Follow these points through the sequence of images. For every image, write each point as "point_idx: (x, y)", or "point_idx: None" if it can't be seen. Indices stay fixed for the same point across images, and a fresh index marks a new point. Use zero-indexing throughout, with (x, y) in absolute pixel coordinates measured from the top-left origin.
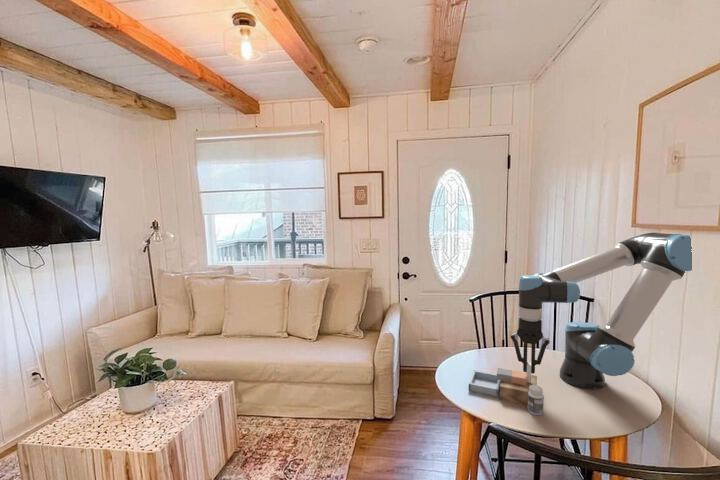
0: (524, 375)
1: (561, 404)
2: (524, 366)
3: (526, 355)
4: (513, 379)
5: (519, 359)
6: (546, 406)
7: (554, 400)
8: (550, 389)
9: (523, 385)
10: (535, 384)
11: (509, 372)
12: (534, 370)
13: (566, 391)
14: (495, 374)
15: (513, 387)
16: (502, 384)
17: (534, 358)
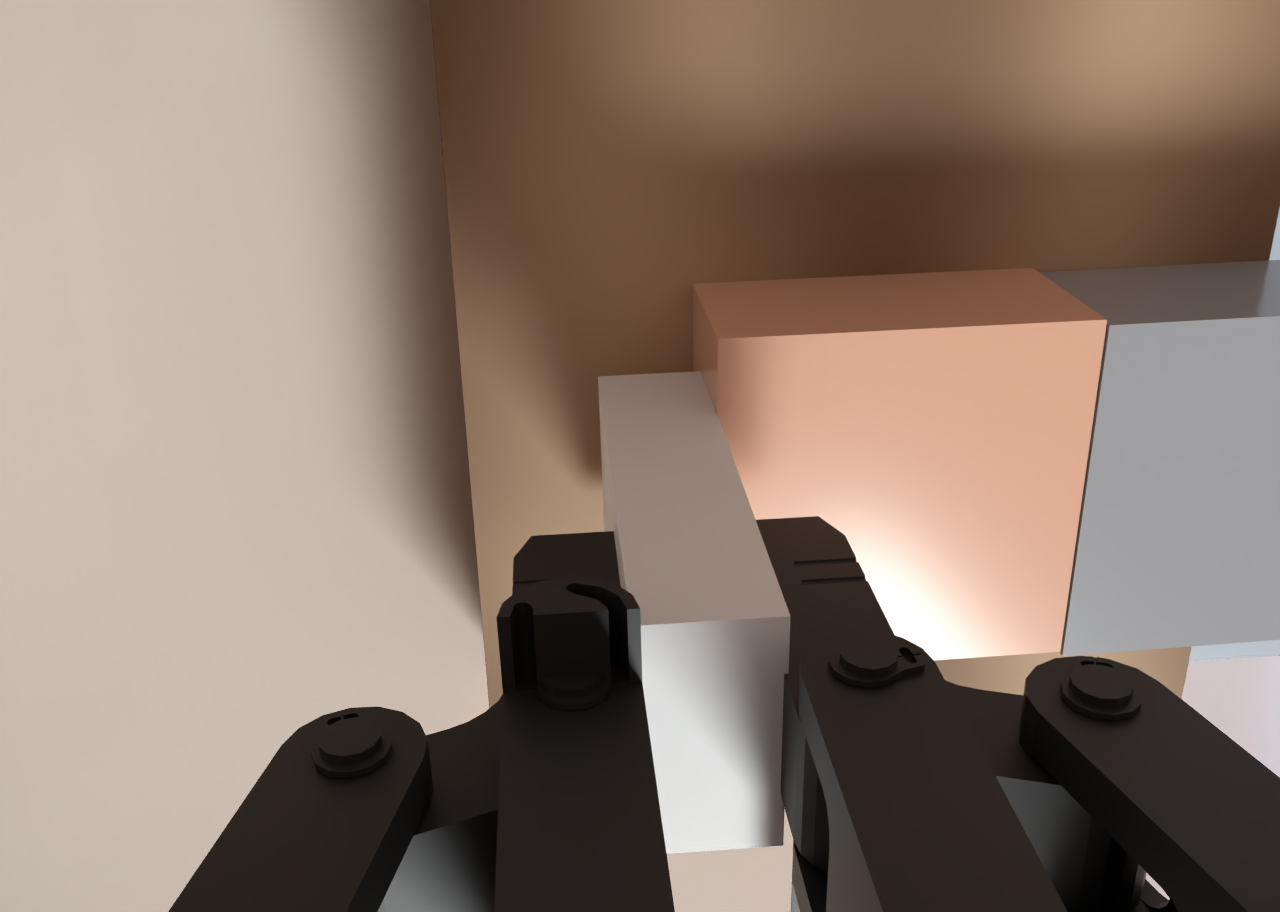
0: (770, 512)
1: (44, 300)
2: (842, 608)
3: (914, 909)
4: (1019, 299)
5: (1122, 703)
6: (283, 85)
7: (179, 389)
8: (289, 730)
9: (759, 255)
10: (499, 436)
11: (1137, 509)
12: (521, 588)
13: (45, 781)
14: (1259, 653)
15: (996, 25)
16: (1254, 60)
17: (522, 872)
